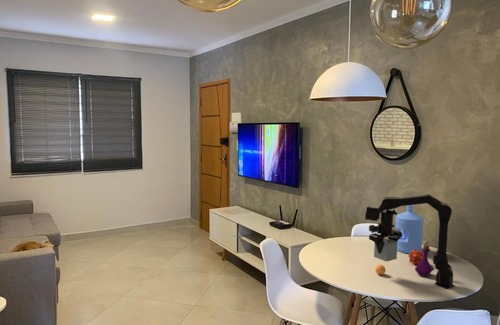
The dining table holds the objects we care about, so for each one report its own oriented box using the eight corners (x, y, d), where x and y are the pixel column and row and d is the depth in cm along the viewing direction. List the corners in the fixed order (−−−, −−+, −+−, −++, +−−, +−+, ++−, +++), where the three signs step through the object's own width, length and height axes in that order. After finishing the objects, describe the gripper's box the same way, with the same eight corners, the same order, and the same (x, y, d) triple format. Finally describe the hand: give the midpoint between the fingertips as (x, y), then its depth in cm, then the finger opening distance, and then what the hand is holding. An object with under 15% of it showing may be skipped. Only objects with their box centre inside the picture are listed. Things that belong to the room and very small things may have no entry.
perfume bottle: (418, 270, 200) (420, 237, 198) (433, 274, 195) (435, 240, 193) (414, 275, 194) (415, 241, 192) (429, 278, 190) (431, 244, 188)
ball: (378, 266, 199) (382, 275, 197) (371, 267, 197) (376, 277, 194) (384, 262, 196) (389, 271, 193) (377, 263, 193) (382, 273, 191)
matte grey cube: (396, 258, 190) (397, 241, 189) (386, 261, 186) (387, 244, 185) (384, 254, 197) (384, 237, 196) (373, 256, 193) (374, 240, 192)
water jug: (416, 246, 240) (419, 203, 237) (425, 254, 224) (428, 208, 221) (391, 245, 241) (393, 202, 238) (398, 253, 226) (400, 207, 223)
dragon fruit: (412, 262, 216) (422, 273, 205) (401, 254, 215) (411, 265, 203) (423, 251, 215) (433, 262, 203) (412, 243, 213) (421, 253, 202)
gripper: (385, 216, 202) (383, 244, 203) (361, 220, 192) (359, 250, 194) (403, 221, 192) (401, 251, 194) (379, 226, 182) (377, 257, 184)
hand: (384, 252), depth 192 cm, fingers closed on matte grey cube, 8 cm apart
